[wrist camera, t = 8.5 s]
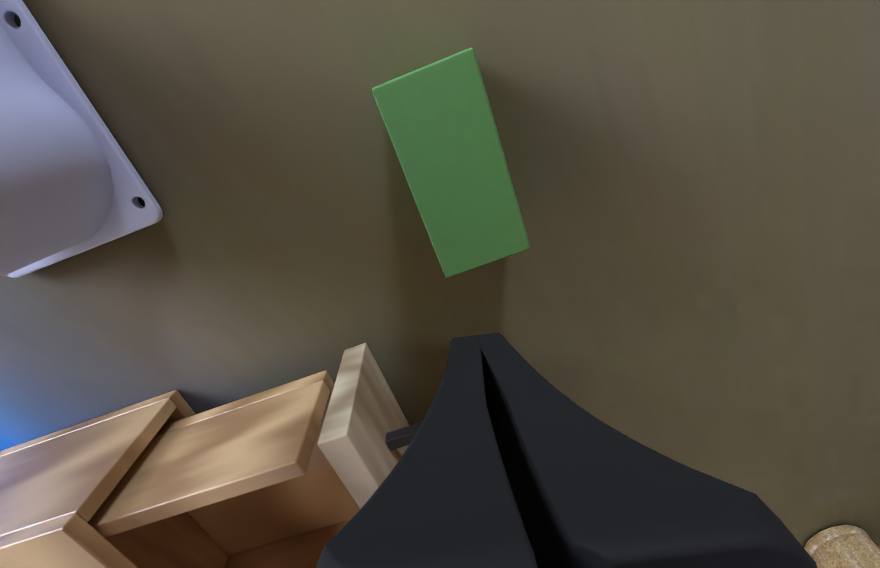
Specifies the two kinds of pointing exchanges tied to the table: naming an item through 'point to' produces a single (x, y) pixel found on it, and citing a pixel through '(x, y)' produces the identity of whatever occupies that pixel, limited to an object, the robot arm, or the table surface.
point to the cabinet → (74, 486)
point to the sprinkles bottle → (843, 548)
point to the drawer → (260, 474)
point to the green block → (454, 162)
